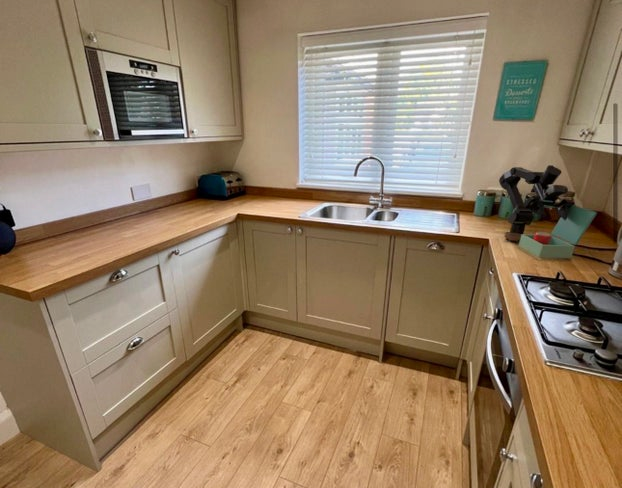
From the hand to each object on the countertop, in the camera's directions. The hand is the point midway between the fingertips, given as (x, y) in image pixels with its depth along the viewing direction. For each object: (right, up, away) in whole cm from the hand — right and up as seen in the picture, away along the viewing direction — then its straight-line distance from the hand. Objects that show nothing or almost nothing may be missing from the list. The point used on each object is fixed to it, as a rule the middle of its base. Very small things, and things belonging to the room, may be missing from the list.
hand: (555, 218), depth 140 cm
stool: (-6, -9, +19) cm, 22 cm away
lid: (+7, -2, +1) cm, 8 cm away
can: (-4, -14, +5) cm, 15 cm away
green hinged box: (-1, -15, +6) cm, 16 cm away
